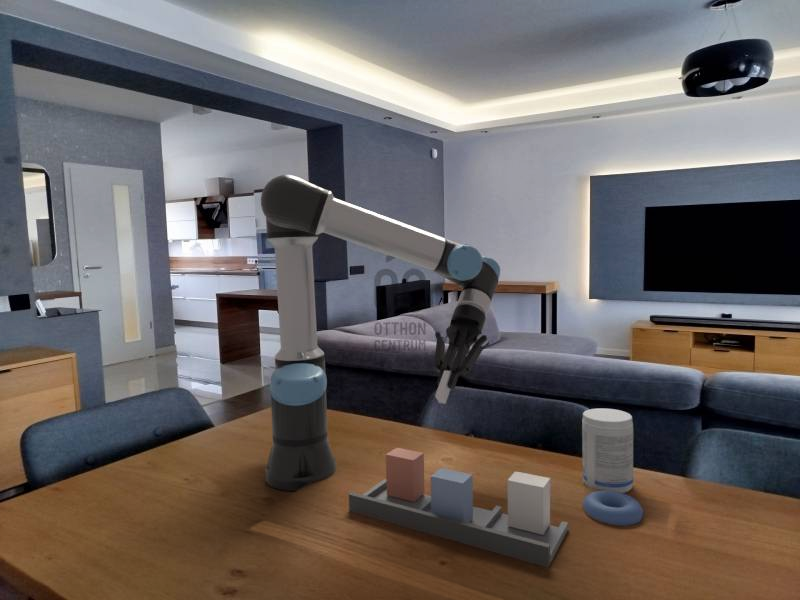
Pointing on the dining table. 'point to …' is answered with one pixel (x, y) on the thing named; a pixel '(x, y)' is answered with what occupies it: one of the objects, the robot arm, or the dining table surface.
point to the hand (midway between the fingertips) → (440, 399)
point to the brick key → (405, 474)
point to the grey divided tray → (462, 525)
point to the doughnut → (612, 508)
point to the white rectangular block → (529, 502)
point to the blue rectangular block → (452, 494)
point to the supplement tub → (607, 449)
